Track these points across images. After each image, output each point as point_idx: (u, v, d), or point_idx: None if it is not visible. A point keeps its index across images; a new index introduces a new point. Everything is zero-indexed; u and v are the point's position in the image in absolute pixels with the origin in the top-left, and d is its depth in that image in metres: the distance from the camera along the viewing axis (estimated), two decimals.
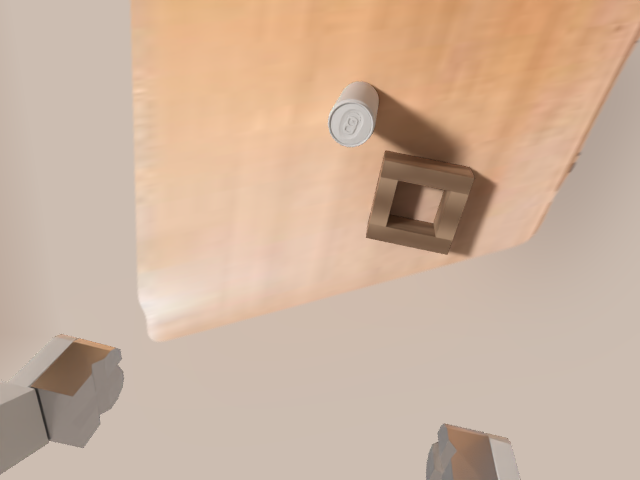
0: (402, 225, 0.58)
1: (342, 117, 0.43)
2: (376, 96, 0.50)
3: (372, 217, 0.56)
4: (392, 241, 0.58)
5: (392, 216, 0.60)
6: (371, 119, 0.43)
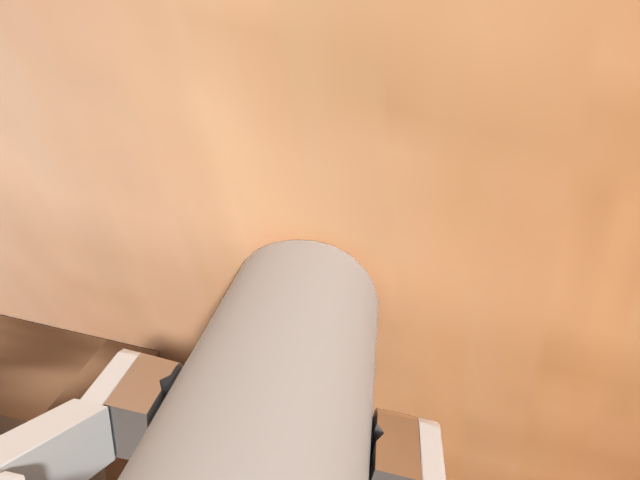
0: None
1: None
2: None
3: None
4: None
5: None
6: None
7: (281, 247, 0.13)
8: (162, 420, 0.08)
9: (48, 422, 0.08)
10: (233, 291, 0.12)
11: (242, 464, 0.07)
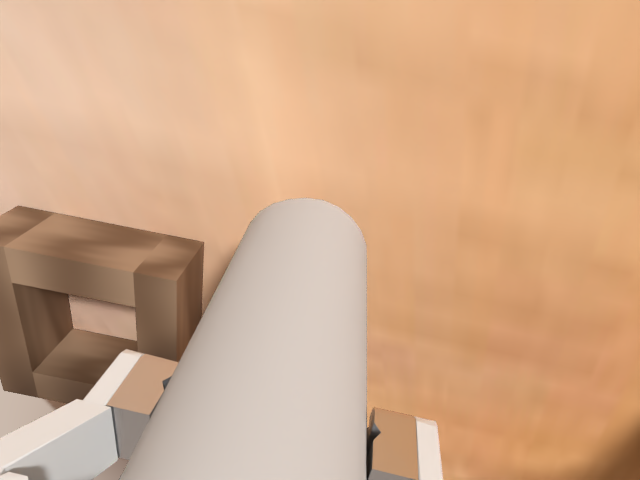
0: (36, 301, 0.25)
1: None
2: None
3: (22, 254, 0.22)
4: None
5: None
6: None
7: (280, 205, 0.15)
8: (204, 324, 0.11)
9: (51, 423, 0.08)
10: (244, 241, 0.14)
11: (269, 334, 0.09)
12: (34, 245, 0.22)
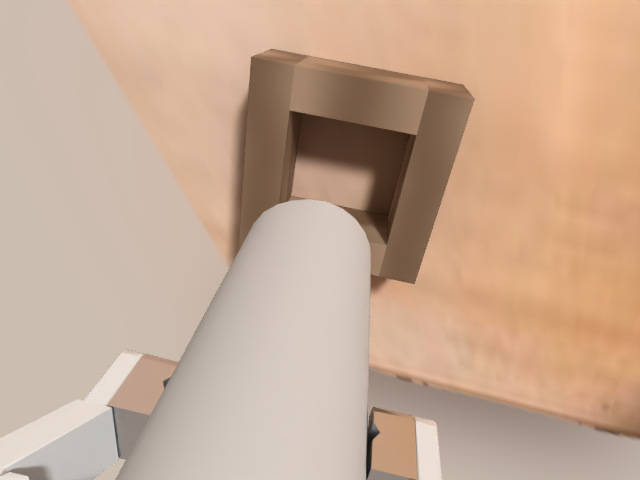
0: (290, 145, 0.24)
1: None
2: None
3: (312, 73, 0.21)
4: (251, 128, 0.23)
5: None
6: None
7: (283, 206, 0.15)
8: (204, 325, 0.10)
9: (52, 423, 0.08)
10: (247, 242, 0.14)
11: (269, 336, 0.09)
12: (319, 67, 0.21)
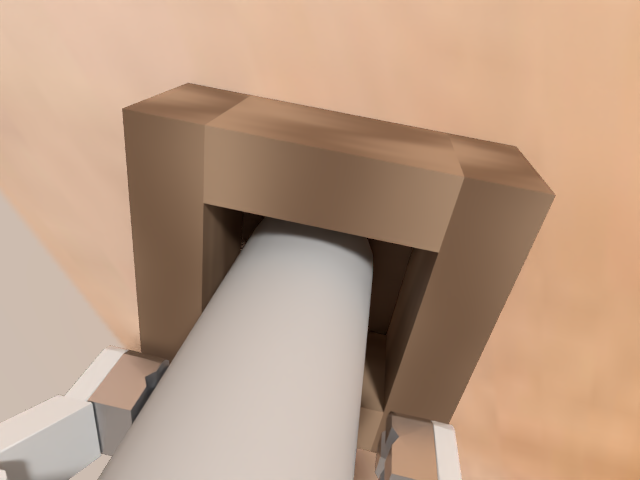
0: (218, 247, 0.14)
1: None
2: None
3: (239, 140, 0.11)
4: (140, 230, 0.13)
5: None
6: None
7: None
8: (195, 330, 0.10)
9: (31, 418, 0.08)
10: (246, 247, 0.14)
11: (256, 346, 0.09)
12: (255, 128, 0.11)
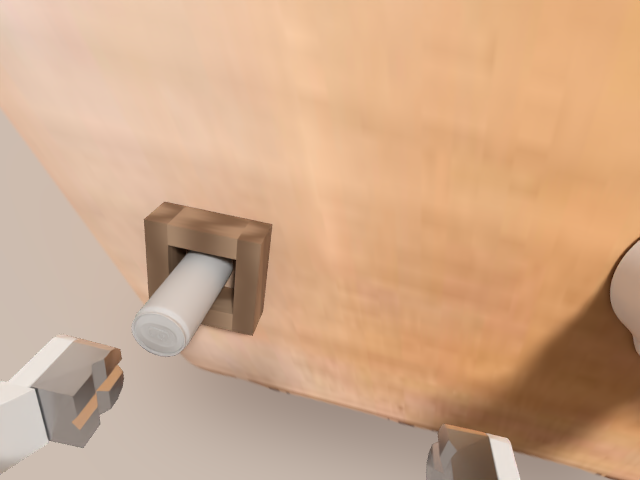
0: (174, 257, 0.42)
1: (164, 326, 0.34)
2: None
3: (177, 228, 0.39)
4: (148, 252, 0.41)
5: None
6: (171, 354, 0.36)
7: None
8: None
9: None
10: None
11: (178, 282, 0.37)
12: (182, 224, 0.40)
